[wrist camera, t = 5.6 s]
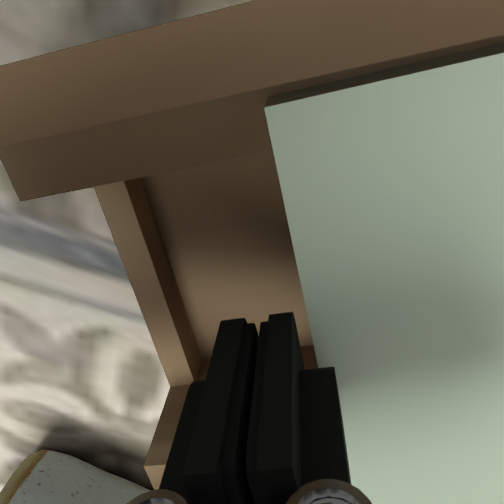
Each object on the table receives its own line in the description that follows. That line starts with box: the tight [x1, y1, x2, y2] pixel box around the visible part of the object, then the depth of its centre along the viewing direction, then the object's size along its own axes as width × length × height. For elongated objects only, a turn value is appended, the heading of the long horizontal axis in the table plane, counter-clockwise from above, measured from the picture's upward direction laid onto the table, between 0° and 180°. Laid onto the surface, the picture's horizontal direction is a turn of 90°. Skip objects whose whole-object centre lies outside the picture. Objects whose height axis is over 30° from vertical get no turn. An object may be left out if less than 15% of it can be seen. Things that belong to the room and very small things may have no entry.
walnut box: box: [0, 0, 504, 490], centre depth 12 cm, size 14×16×9 cm
